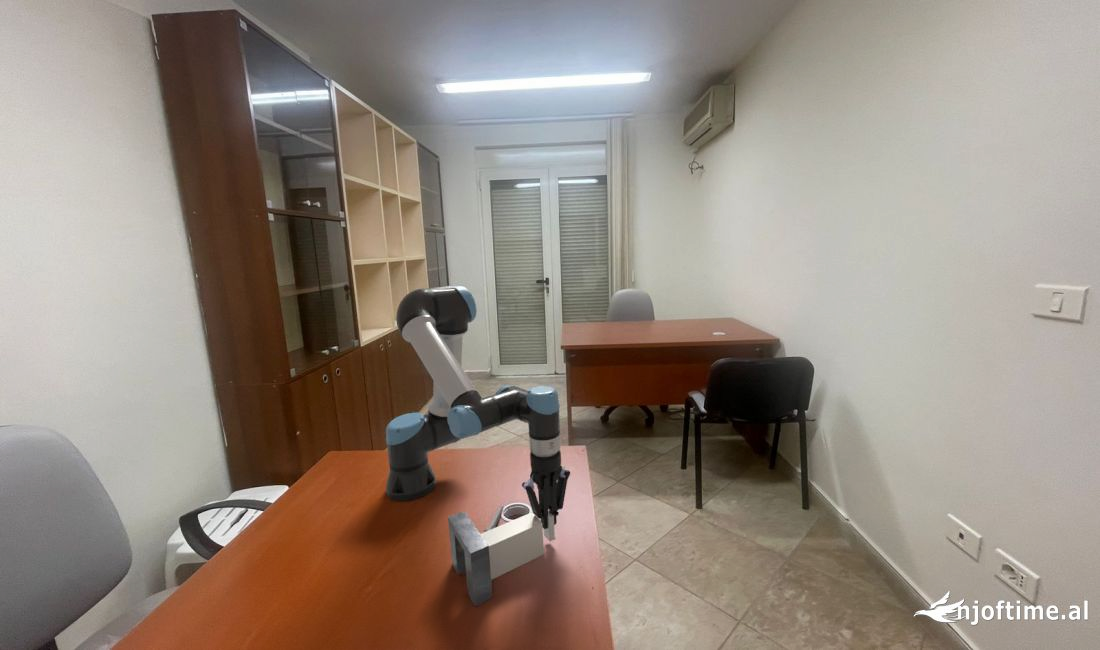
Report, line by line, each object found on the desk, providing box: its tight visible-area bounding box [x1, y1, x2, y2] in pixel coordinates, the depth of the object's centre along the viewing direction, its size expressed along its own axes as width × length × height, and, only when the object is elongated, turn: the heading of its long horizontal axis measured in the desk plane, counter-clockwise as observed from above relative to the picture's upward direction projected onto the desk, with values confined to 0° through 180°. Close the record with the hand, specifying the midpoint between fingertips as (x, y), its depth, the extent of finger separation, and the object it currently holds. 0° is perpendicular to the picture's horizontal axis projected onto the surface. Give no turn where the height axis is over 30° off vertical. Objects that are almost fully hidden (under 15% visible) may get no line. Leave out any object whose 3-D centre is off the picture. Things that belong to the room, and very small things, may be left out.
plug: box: [480, 512, 545, 581], centre depth 96 cm, size 5×18×8 cm, turn 122°
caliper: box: [482, 505, 504, 533], centre depth 109 cm, size 20×1×6 cm, turn 175°
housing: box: [447, 510, 493, 607], centre depth 91 cm, size 14×4×12 cm, turn 32°
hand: (549, 537), depth 103 cm, fingers closed
